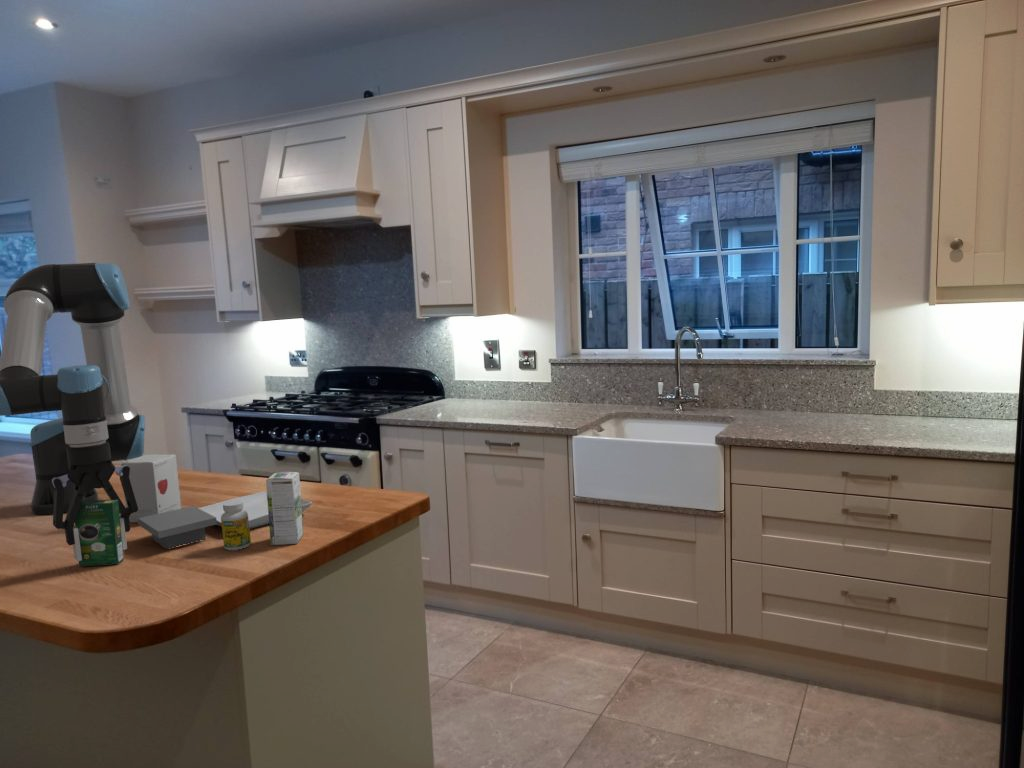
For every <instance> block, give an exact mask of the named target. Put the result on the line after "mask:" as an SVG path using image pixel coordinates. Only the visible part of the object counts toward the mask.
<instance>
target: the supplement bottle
mask: <svg viewBox="0 0 1024 768" xmlns="http://www.w3.org/2000/svg"><path fill="white" fill-rule="evenodd" d="M243 507H244V506H243V501H240V500H236V501H229V502H226V503H224V504H223V510H224V511H225V513H223V514H222V516H221V523H222V527H221V532H222V538H223V547H224V549H225V550H226V549H227V551H238V550H237V549H240V550H243V549H242V548H244V549H246V547H247V548H248V547H250V545H251V543H252V540H251V531H250V530H251V529H249V520H248V513H247V512H246V511H245V510H243Z"/></svg>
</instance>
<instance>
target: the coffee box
mask: <svg viewBox="0 0 1024 768" xmlns="http://www.w3.org/2000/svg"><path fill="white" fill-rule="evenodd" d="M74 526H76V527H77V528H78V532H79V540H80V548H81V556H82V560H81V561H78V564H79V565H78V566H79V567H91V566H92V567H93V566H112V565H120V564H121V563H122V562H123V561H124V550H123V548H122V537H121V526H120V513H119V504H118V500H111V499H102V500H101V499H98V500H97V501H82V502H81V505H80V508H79V511H78V514H77V517H76V520H75V523H74Z"/></svg>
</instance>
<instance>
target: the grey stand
mask: <svg viewBox="0 0 1024 768" xmlns="http://www.w3.org/2000/svg"><path fill="white" fill-rule="evenodd" d="M199 508H200V507H196V506H194V505H191V506H186V507H183V508H182V507H181V509H177V510H173V511H168V512H164V513H159V514H155V515H150V516H146V517H142V518H138V522H137V523H138V526H140V527H141V528H142V529H144V530H146V531H147V532H149V533H150V534H151V537H152V541H154V542H155V541H156V543H157V542H158V543H159V544H158V543H157V544H158V545H160V544H161V545H162V546H161V545H160V546H161V547H163V546H164V547H165V548H164V547H163V548H164V549H166V548H167V549H169V548H172V547H176V546H179V545H183V544H188V543H191V542H196V541H200V540H204V541H206V540H207V539H206V529H205V528H207V527H212V526H215V525H216V524H217V521H216V517H214V516H212V515H210V514H208V513H206V512H204V511H202V510H200V509H199ZM216 526H217V525H216ZM205 539H206V540H205ZM200 542H201V541H200ZM196 543H197V542H196ZM188 545H189V544H188ZM167 549H166V550H167ZM169 550H170V549H169Z"/></svg>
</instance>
